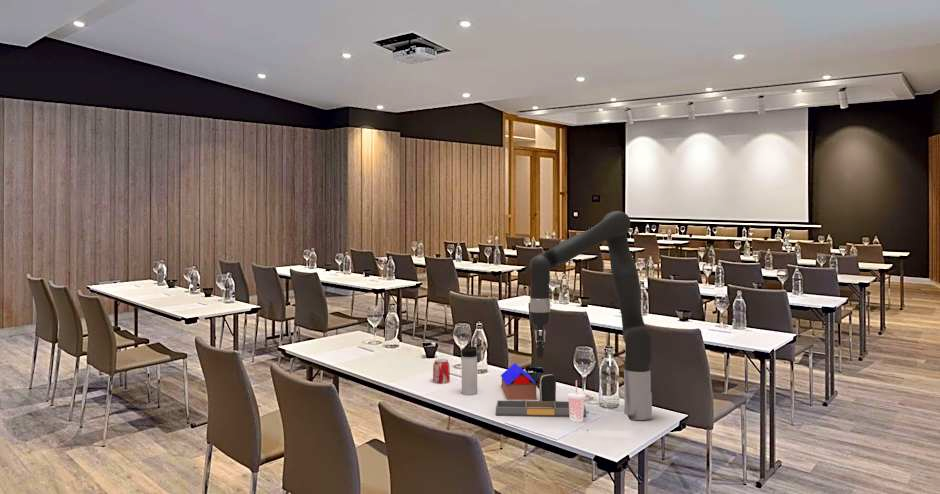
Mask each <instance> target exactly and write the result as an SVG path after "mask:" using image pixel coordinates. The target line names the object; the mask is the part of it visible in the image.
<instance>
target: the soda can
mask: <svg viewBox="0 0 940 494" xmlns="http://www.w3.org/2000/svg"><path fill="white" fill-rule="evenodd" d="M432 366H433V369H432V379H433V381H432V382H433V384H437V385H445V384H449V383H450V382H451V380H450V379H451V378H450V376H451V375H450V374H451V373H450V372H451V371H450V369H451V368H450V366H451V365H450V362H449V360H448V359H446V358H445V359H442V358H441V359H435V360H434V362H433V365H432Z"/></svg>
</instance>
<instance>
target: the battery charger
mask: <svg viewBox="0 0 940 494" xmlns="http://www.w3.org/2000/svg"><path fill="white" fill-rule="evenodd" d="M556 381H557V378H556V376H555V375H554V374H551V373H546V374H541V375H540V374H539V375H538V376H537V383H536V384H537V385H536V389H539V400H538V401H556V400H557V399H556V393H557V382H556Z"/></svg>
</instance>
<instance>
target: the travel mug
mask: <svg viewBox="0 0 940 494" xmlns="http://www.w3.org/2000/svg"><path fill="white" fill-rule="evenodd" d="M461 394H462V395H464V396H475V395H476V396H477V395H478V348H477V347H476V346H469V347H468V346H467V347H464V348H462V349H461Z"/></svg>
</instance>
